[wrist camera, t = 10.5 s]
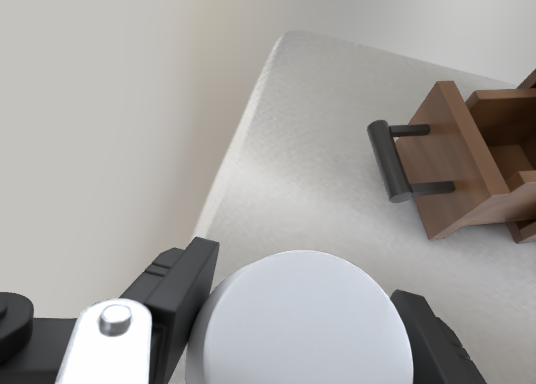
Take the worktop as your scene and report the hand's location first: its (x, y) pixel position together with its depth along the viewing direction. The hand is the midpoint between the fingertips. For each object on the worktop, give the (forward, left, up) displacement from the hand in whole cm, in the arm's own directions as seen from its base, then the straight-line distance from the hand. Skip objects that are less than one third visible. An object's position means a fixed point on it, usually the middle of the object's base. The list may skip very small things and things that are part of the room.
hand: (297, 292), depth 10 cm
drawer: (+18, -1, -11) cm, 21 cm away
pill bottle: (-2, -1, -6) cm, 7 cm away
